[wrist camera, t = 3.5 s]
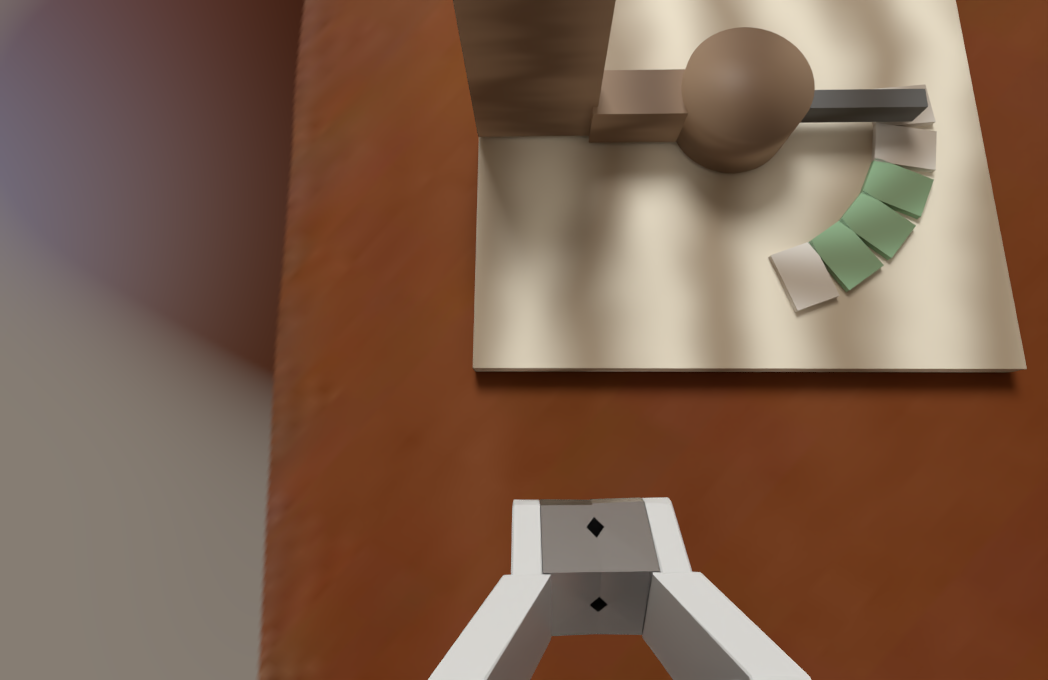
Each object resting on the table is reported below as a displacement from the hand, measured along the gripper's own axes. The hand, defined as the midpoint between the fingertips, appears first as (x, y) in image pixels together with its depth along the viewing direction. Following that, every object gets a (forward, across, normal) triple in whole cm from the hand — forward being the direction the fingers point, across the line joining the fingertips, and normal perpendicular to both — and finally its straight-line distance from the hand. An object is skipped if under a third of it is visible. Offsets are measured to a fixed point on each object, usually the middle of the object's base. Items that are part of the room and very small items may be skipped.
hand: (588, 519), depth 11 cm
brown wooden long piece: (+23, -7, -3) cm, 25 cm away
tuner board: (+24, -10, -2) cm, 26 cm away
